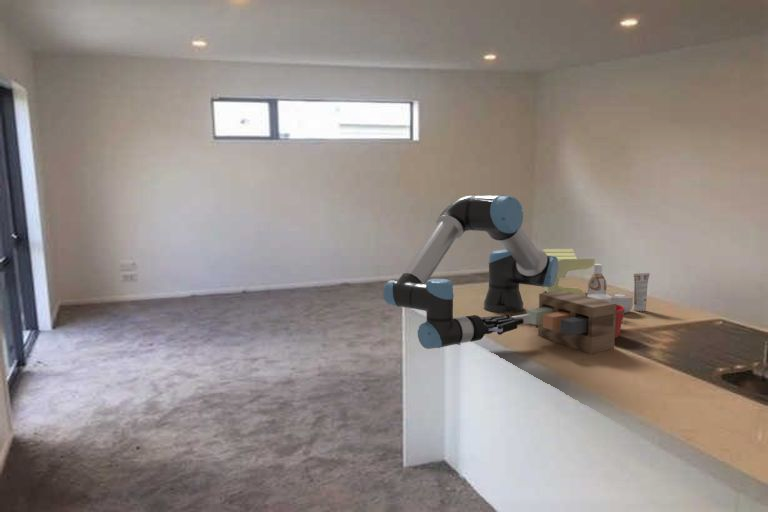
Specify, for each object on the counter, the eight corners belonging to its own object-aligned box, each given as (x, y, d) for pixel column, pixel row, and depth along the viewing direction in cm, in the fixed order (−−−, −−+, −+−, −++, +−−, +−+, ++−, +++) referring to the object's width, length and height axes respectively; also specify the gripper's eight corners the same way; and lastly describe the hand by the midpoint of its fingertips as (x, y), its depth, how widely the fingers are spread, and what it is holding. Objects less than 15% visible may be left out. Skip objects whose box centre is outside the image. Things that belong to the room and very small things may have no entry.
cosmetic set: (639, 307, 230) (642, 260, 227) (655, 313, 221) (658, 263, 218) (581, 311, 225) (583, 262, 222) (594, 317, 216) (597, 266, 213)
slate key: (560, 332, 175) (560, 319, 175) (584, 327, 180) (584, 315, 180) (570, 335, 172) (571, 322, 171) (594, 330, 177) (595, 317, 176)
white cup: (611, 327, 202) (613, 299, 201) (587, 326, 204) (588, 298, 202) (607, 321, 210) (609, 294, 208) (584, 320, 211) (585, 293, 210)
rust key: (542, 327, 181) (543, 314, 181) (566, 322, 186) (566, 310, 186) (552, 330, 178) (552, 317, 177) (576, 325, 183) (576, 313, 182)
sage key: (526, 322, 187) (527, 309, 187) (549, 317, 192) (550, 305, 192) (535, 324, 184) (535, 312, 183) (559, 320, 189) (559, 308, 188)
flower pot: (581, 333, 196) (582, 304, 194) (606, 329, 200) (607, 301, 198) (604, 341, 186) (605, 311, 185) (630, 337, 190) (632, 308, 189)
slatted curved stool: (536, 287, 269) (537, 248, 266) (571, 287, 269) (572, 248, 266) (553, 302, 240) (554, 259, 237) (592, 302, 239) (594, 259, 236)
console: (538, 335, 193) (539, 293, 191) (560, 331, 198) (561, 290, 196) (590, 353, 174) (593, 307, 172) (614, 348, 179) (616, 303, 177)
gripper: (454, 336, 180) (513, 325, 191) (480, 347, 168) (542, 335, 179) (454, 312, 178) (514, 302, 190) (481, 321, 167) (543, 311, 178)
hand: (527, 318), depth 185 cm, fingers closed
